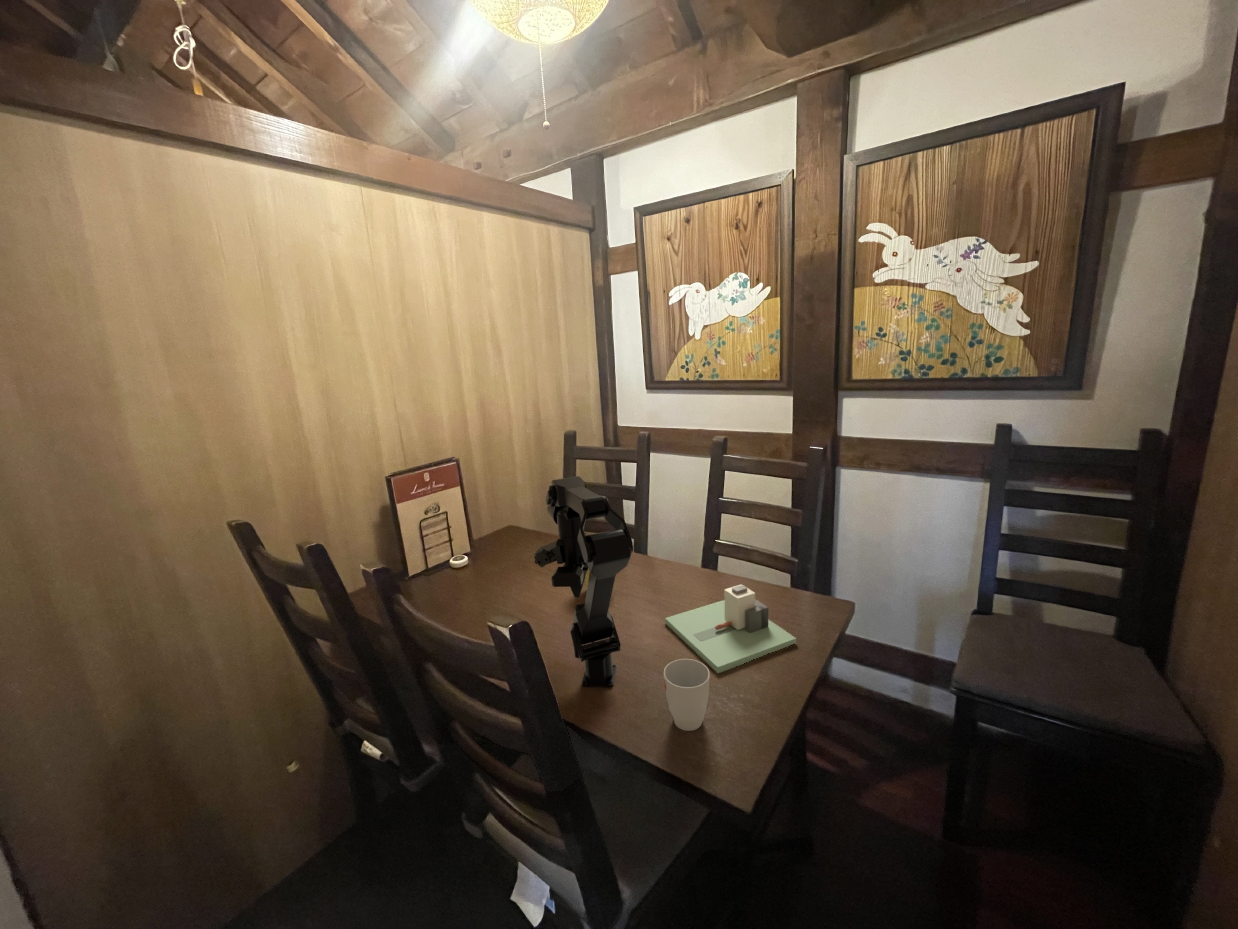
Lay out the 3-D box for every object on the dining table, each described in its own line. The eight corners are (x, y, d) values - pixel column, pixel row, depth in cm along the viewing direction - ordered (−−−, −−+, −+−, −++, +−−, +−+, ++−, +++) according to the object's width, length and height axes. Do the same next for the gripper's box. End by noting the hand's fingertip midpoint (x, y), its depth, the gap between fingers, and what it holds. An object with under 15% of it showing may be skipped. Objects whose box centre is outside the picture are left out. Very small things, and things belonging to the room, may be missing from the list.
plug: (721, 635, 113) (721, 600, 111) (709, 625, 118) (708, 591, 116) (755, 624, 117) (755, 589, 115) (741, 614, 121) (741, 581, 119)
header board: (717, 673, 103) (717, 663, 103) (665, 623, 123) (665, 615, 122) (796, 644, 111) (796, 635, 111) (735, 601, 131) (735, 593, 130)
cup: (681, 699, 96) (679, 653, 94) (718, 716, 91) (718, 668, 89) (657, 724, 90) (654, 676, 88) (696, 744, 85) (694, 694, 83)
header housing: (749, 633, 114) (749, 613, 113) (726, 615, 122) (726, 597, 121) (768, 626, 116) (768, 607, 115) (744, 610, 124) (744, 591, 123)
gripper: (546, 519, 120) (552, 578, 124) (524, 550, 102) (531, 618, 106) (591, 518, 119) (596, 578, 123) (577, 549, 101) (583, 618, 105)
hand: (577, 596), depth 114 cm, fingers closed
